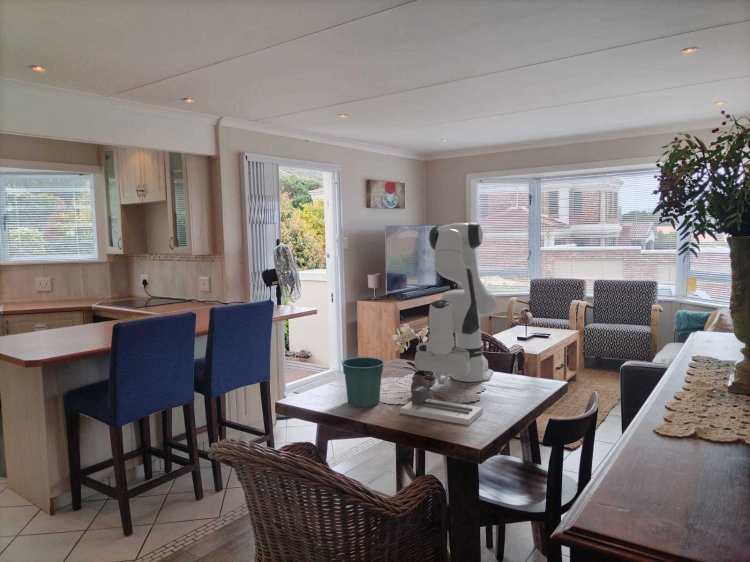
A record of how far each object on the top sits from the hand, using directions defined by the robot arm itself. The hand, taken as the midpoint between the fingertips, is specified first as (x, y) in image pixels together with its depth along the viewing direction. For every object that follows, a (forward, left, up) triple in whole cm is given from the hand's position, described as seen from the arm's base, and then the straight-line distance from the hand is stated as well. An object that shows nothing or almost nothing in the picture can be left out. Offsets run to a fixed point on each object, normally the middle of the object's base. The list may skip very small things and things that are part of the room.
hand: (442, 384), depth 193 cm
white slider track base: (+1, 0, -11) cm, 11 cm away
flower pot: (+4, -31, -11) cm, 33 cm away
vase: (-12, -15, -11) cm, 22 cm away
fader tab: (+1, -9, -8) cm, 12 cm away
